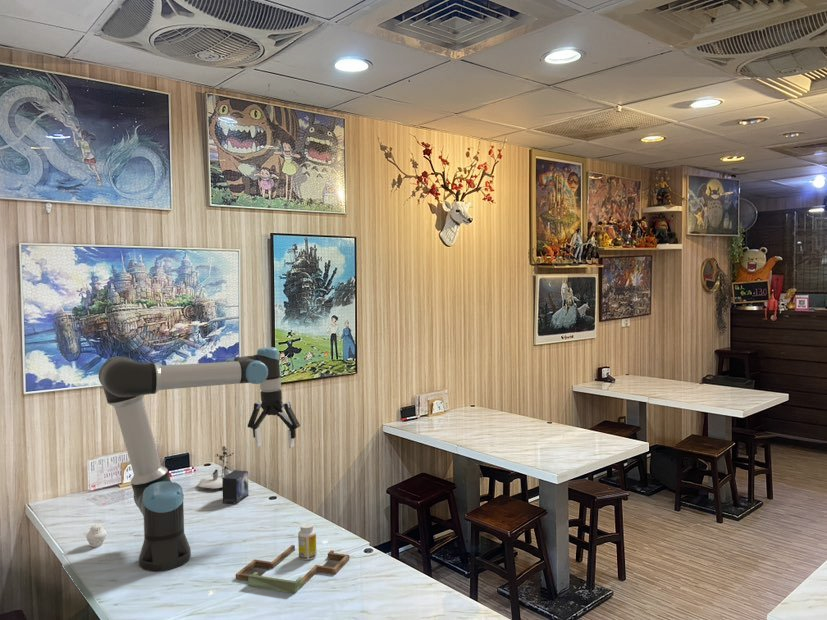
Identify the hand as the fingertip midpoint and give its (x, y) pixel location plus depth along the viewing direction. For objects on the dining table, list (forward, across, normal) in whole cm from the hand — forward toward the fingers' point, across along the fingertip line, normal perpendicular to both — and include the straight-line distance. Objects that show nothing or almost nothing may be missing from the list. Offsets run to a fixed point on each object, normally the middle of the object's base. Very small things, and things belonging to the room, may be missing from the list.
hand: (275, 446), depth 225 cm
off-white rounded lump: (+24, +48, +38) cm, 65 cm away
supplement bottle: (+27, -25, +28) cm, 46 cm away
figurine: (+27, +43, -28) cm, 58 cm away
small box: (+26, +27, -12) cm, 39 cm away
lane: (+26, -25, +36) cm, 51 cm away
